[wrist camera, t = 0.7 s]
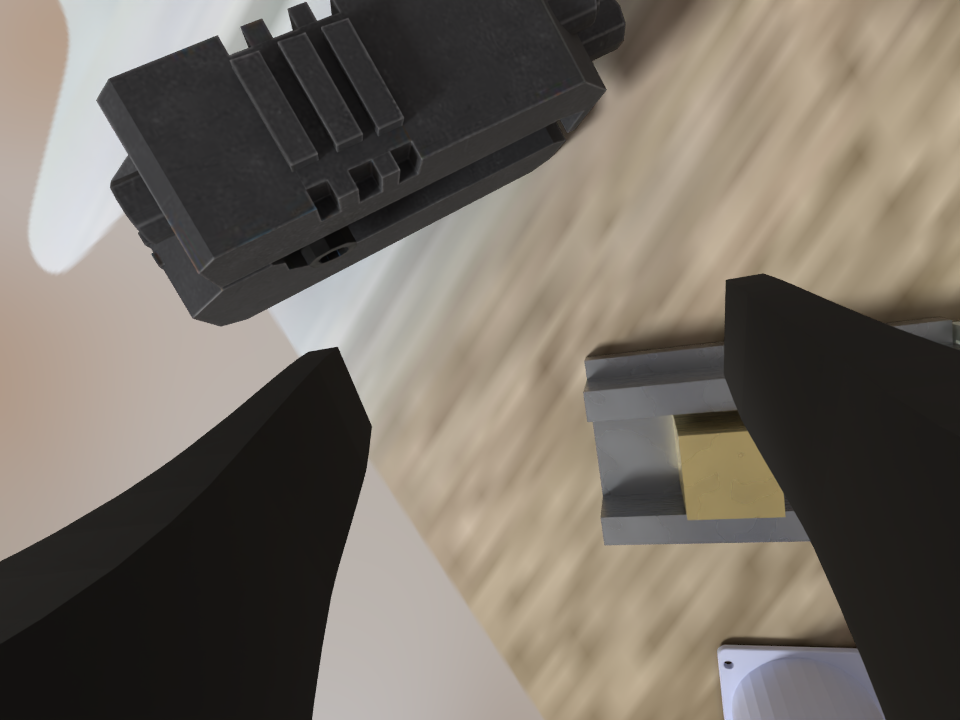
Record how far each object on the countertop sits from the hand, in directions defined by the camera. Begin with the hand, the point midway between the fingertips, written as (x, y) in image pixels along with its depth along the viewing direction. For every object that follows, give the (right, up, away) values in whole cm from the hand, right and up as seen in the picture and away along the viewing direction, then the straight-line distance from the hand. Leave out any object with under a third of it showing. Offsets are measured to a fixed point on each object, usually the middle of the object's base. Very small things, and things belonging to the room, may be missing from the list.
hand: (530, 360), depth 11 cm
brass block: (+11, -4, +18) cm, 21 cm away
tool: (-4, +10, +20) cm, 22 cm away
